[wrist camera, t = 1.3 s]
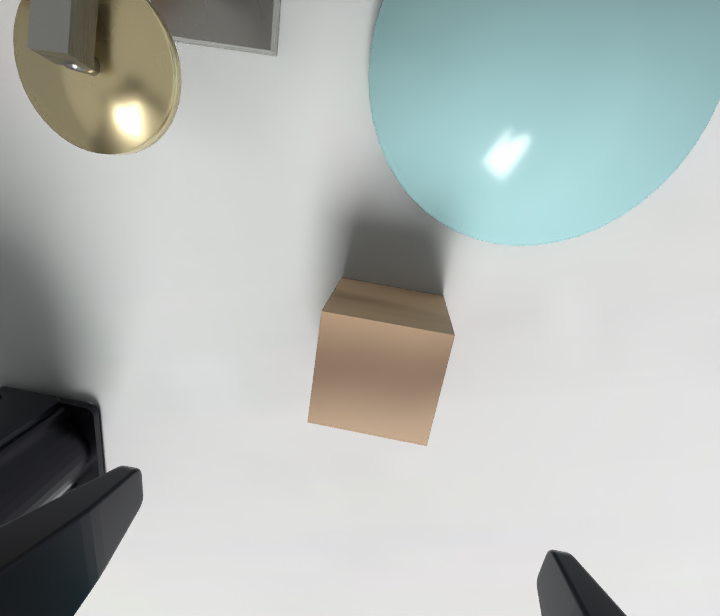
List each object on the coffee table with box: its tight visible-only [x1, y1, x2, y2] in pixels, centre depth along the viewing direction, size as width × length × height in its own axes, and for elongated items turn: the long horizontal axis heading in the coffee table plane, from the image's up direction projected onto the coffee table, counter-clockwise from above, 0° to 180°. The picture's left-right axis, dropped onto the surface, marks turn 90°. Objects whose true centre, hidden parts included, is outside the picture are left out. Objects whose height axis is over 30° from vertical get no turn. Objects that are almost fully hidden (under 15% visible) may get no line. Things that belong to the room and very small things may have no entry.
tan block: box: [308, 278, 455, 446], centre depth 18 cm, size 5×5×5 cm
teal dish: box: [369, 0, 720, 246], centre depth 15 cm, size 13×13×1 cm
